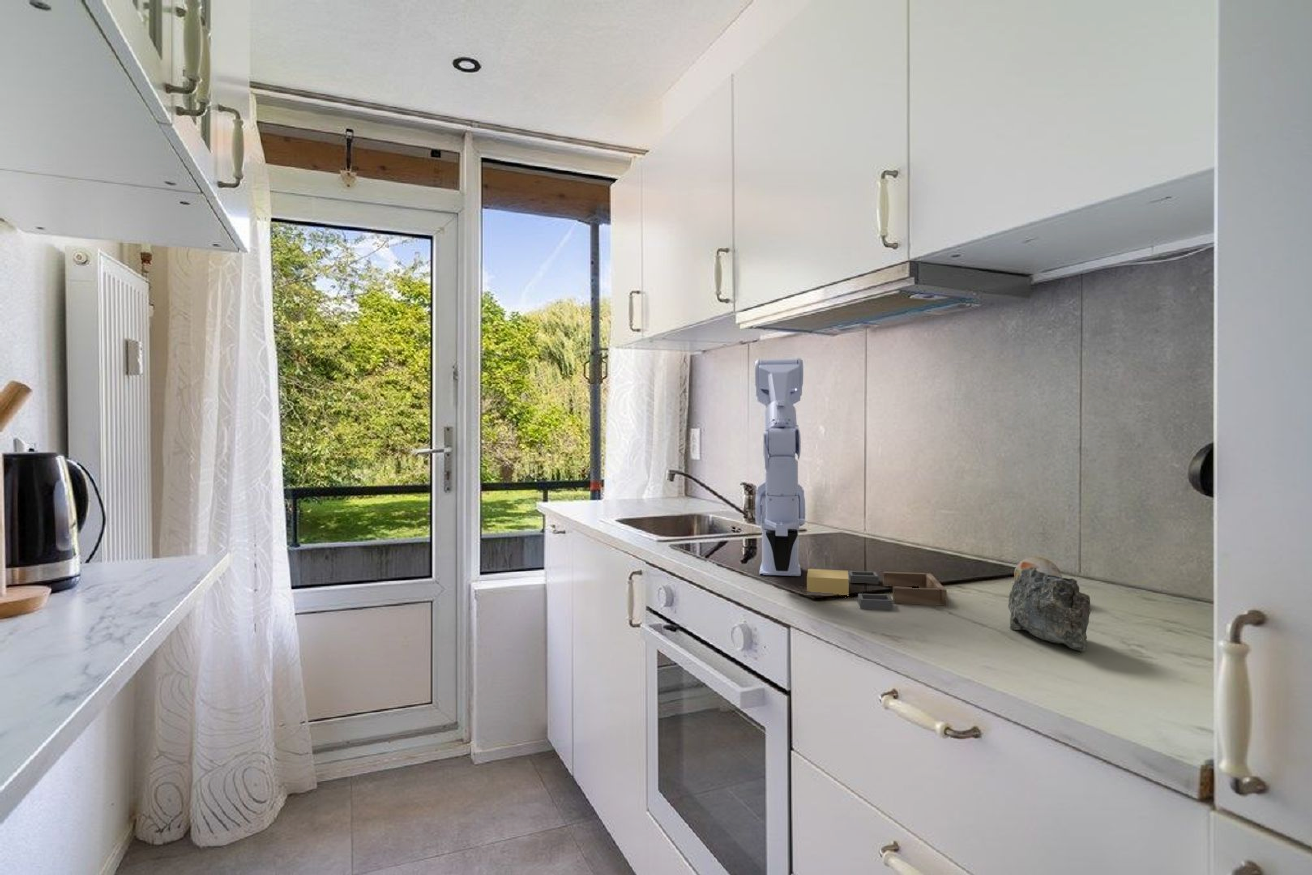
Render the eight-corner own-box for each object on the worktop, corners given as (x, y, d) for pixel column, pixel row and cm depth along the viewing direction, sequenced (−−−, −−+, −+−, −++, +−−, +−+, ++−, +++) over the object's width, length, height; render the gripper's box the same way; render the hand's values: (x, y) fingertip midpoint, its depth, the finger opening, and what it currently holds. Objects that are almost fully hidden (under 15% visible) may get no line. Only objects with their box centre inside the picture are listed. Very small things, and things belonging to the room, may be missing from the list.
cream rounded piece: (1023, 611, 110) (1006, 551, 115) (1027, 624, 117) (1011, 568, 122) (1075, 604, 107) (1056, 543, 112) (1076, 618, 114) (1058, 560, 119)
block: (808, 587, 127) (808, 568, 127) (847, 589, 125) (847, 570, 125) (806, 596, 120) (806, 576, 120) (848, 599, 118) (848, 578, 118)
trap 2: (858, 602, 115) (857, 593, 115) (889, 603, 114) (889, 594, 114) (860, 608, 111) (860, 599, 111) (893, 610, 110) (893, 600, 110)
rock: (974, 631, 99) (974, 561, 99) (1019, 621, 103) (1019, 555, 103) (1070, 660, 86) (1070, 581, 86) (1117, 649, 91) (1118, 573, 90)
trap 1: (848, 578, 132) (848, 570, 132) (875, 579, 131) (875, 571, 131) (850, 583, 128) (850, 575, 128) (878, 584, 128) (878, 576, 128)
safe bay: (882, 585, 127) (883, 571, 127) (930, 586, 125) (930, 573, 125) (893, 603, 114) (893, 588, 114) (946, 605, 113) (946, 590, 113)
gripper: (805, 499, 116) (805, 579, 116) (803, 491, 130) (803, 563, 130) (763, 498, 117) (763, 578, 117) (765, 491, 131) (766, 562, 131)
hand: (782, 570), depth 124 cm, fingers closed
